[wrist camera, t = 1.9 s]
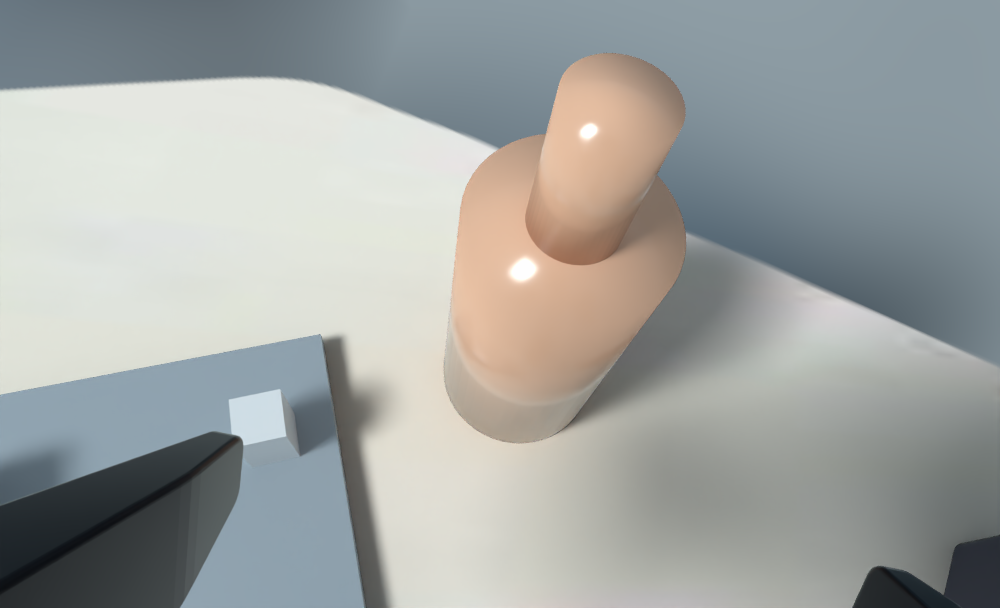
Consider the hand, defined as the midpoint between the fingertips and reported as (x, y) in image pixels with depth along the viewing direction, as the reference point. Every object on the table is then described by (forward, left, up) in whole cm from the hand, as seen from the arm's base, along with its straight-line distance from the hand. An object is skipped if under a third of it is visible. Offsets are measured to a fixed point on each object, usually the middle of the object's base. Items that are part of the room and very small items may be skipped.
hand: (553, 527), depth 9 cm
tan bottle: (+4, -6, -13) cm, 15 cm away
